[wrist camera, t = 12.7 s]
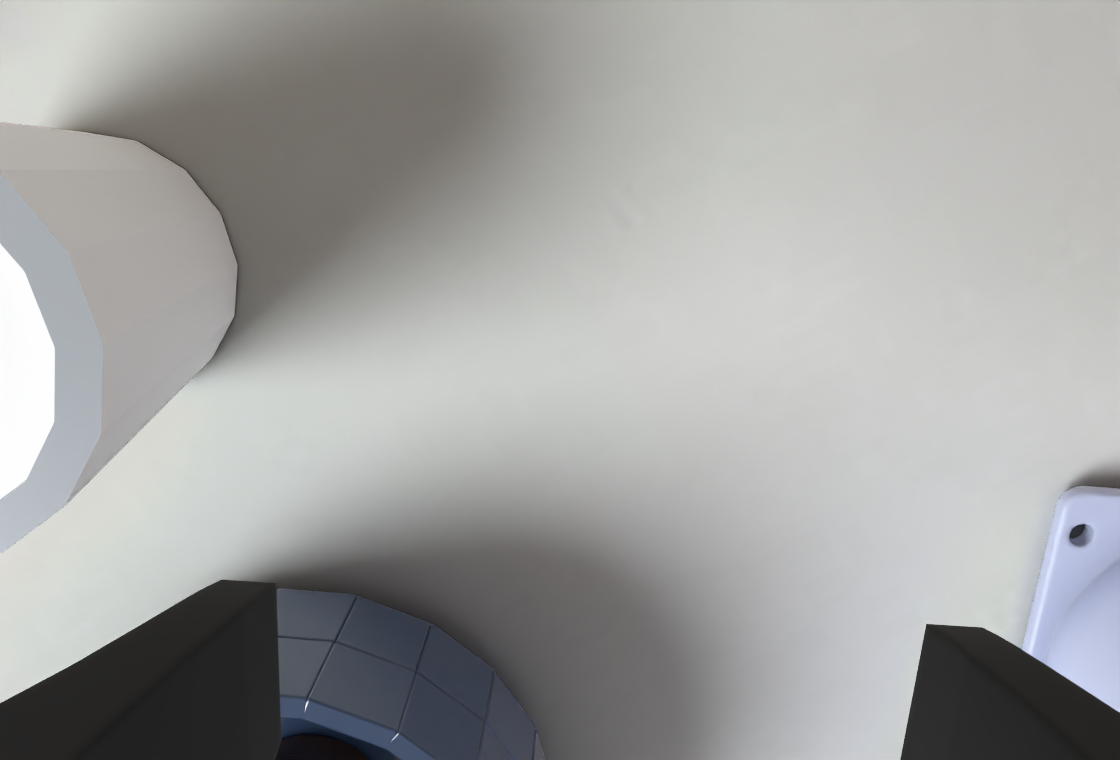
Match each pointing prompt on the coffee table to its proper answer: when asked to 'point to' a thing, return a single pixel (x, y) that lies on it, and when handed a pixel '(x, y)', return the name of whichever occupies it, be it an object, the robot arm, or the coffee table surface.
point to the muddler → (317, 749)
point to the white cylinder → (96, 306)
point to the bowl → (391, 684)
